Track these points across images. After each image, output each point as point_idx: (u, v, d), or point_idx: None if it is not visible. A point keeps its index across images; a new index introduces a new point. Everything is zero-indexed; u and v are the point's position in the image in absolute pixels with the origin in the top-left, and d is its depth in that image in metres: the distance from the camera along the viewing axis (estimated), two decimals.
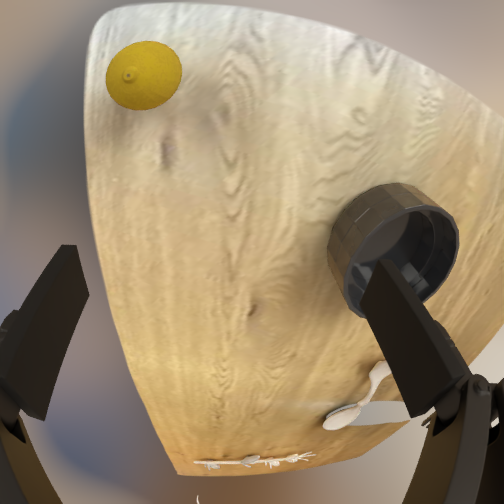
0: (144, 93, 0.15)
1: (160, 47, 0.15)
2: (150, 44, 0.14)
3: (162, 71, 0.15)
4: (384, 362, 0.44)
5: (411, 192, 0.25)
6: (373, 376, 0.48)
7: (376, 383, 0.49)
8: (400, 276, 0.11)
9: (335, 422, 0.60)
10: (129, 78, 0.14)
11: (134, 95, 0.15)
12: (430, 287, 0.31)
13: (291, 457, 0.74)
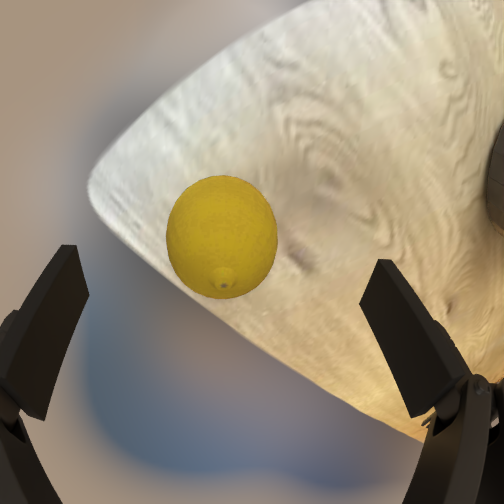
0: (258, 277, 0.12)
1: (214, 204, 0.12)
2: (200, 213, 0.12)
3: (255, 237, 0.12)
4: None
5: None
6: None
7: None
8: (400, 276, 0.11)
9: None
10: (229, 287, 0.11)
11: (248, 288, 0.13)
12: None
13: None
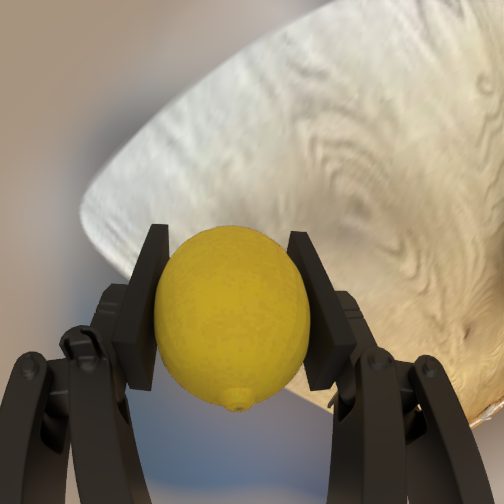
0: (285, 384, 0.08)
1: (223, 293, 0.08)
2: (200, 307, 0.07)
3: (285, 342, 0.08)
4: None
5: None
6: None
7: None
8: (309, 246, 0.12)
9: None
10: (246, 409, 0.07)
11: None
12: None
13: None
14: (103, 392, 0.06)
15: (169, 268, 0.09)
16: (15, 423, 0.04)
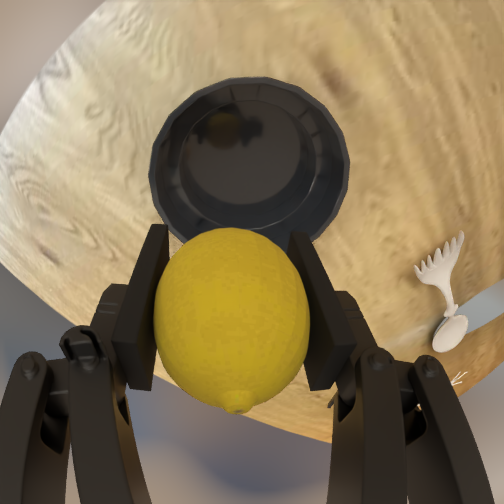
0: (285, 386, 0.08)
1: (222, 295, 0.07)
2: (200, 309, 0.07)
3: (285, 345, 0.07)
4: (422, 263, 0.32)
5: None
6: (433, 280, 0.35)
7: (445, 284, 0.35)
8: (309, 246, 0.12)
9: (448, 340, 0.46)
10: (245, 411, 0.07)
11: (270, 398, 0.08)
12: (340, 160, 0.21)
13: None
14: (103, 392, 0.06)
15: (169, 270, 0.09)
16: (15, 423, 0.04)
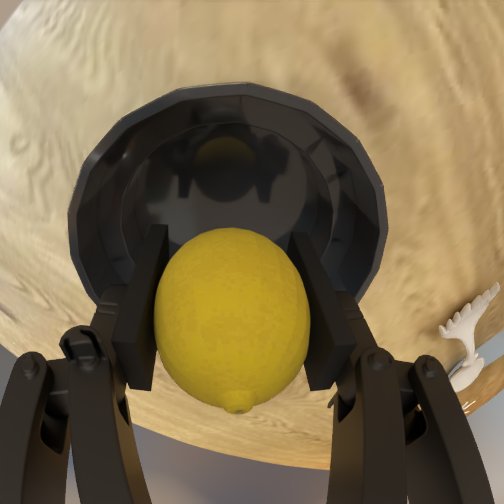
0: (285, 386, 0.08)
1: (223, 295, 0.07)
2: (200, 309, 0.07)
3: (285, 345, 0.07)
4: (449, 322, 0.24)
5: None
6: (456, 333, 0.27)
7: (469, 336, 0.27)
8: (309, 246, 0.12)
9: (461, 381, 0.38)
10: (246, 412, 0.07)
11: None
12: (372, 223, 0.13)
13: None
14: (103, 392, 0.06)
15: (169, 270, 0.09)
16: (15, 423, 0.04)
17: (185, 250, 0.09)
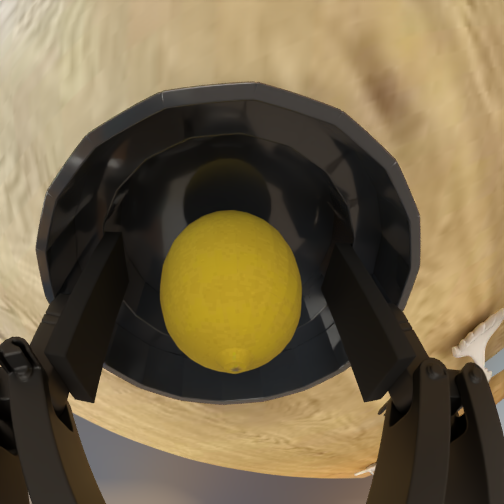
0: (279, 350, 0.09)
1: (222, 262, 0.09)
2: (203, 274, 0.09)
3: (277, 307, 0.09)
4: (463, 343, 0.21)
5: None
6: (468, 351, 0.25)
7: (480, 354, 0.25)
8: (356, 258, 0.12)
9: None
10: (242, 370, 0.08)
11: (266, 362, 0.10)
12: (401, 257, 0.11)
13: None
14: (38, 399, 0.05)
15: (175, 245, 0.10)
16: None
17: (189, 228, 0.11)
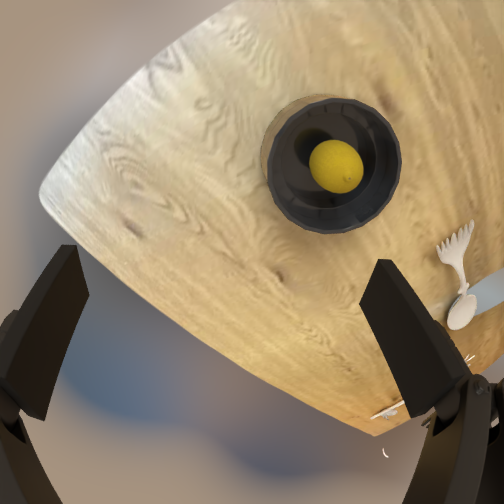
0: (359, 180, 0.27)
1: (342, 148, 0.26)
2: (337, 150, 0.26)
3: (359, 162, 0.26)
4: (442, 244, 0.39)
5: (285, 112, 0.27)
6: (450, 260, 0.42)
7: (459, 265, 0.42)
8: (400, 276, 0.11)
9: (460, 318, 0.52)
10: (351, 179, 0.26)
11: (354, 185, 0.27)
12: (394, 160, 0.28)
13: None
14: None
15: (320, 147, 0.28)
16: None
17: (323, 142, 0.28)
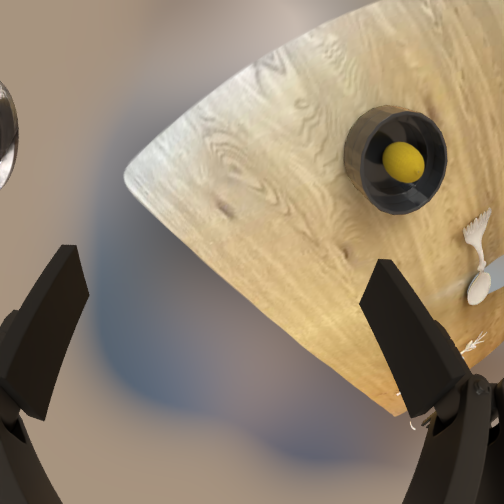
0: (422, 173, 0.32)
1: (411, 148, 0.32)
2: (408, 150, 0.32)
3: (422, 160, 0.32)
4: (468, 226, 0.44)
5: (369, 118, 0.32)
6: (472, 241, 0.48)
7: (479, 245, 0.48)
8: (400, 276, 0.11)
9: (477, 294, 0.59)
10: (419, 172, 0.31)
11: (419, 176, 0.33)
12: (441, 159, 0.34)
13: (468, 345, 0.73)
14: None
15: (393, 147, 0.33)
16: None
17: (395, 143, 0.34)
